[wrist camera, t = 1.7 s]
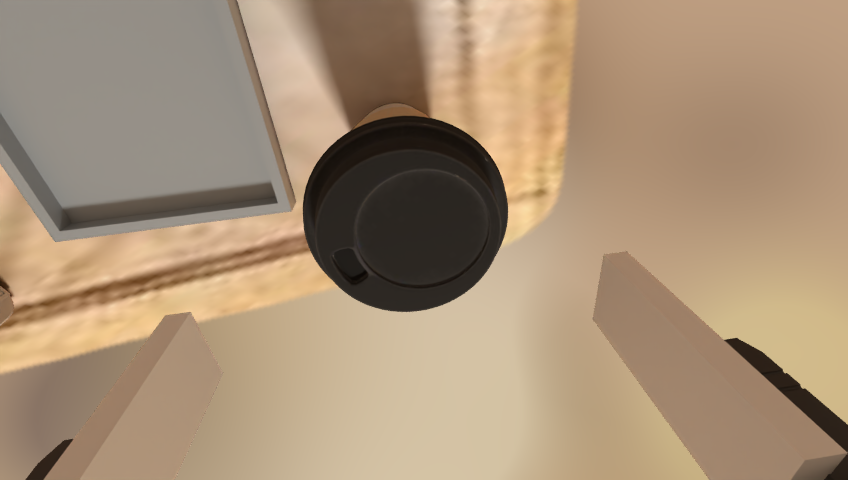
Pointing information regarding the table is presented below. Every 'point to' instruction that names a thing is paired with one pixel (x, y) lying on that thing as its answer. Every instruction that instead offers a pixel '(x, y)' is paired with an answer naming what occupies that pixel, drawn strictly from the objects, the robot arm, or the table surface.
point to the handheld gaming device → (5, 305)
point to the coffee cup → (405, 211)
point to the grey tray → (135, 115)
